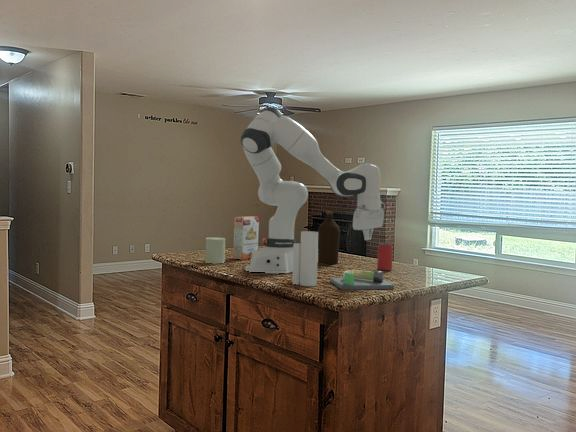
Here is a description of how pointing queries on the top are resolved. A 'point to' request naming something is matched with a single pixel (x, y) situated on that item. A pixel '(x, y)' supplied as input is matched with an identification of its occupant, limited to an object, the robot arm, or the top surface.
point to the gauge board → (358, 283)
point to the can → (215, 250)
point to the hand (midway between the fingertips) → (367, 240)
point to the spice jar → (368, 275)
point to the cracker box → (245, 237)
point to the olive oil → (328, 241)
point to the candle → (305, 259)
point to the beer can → (385, 256)
